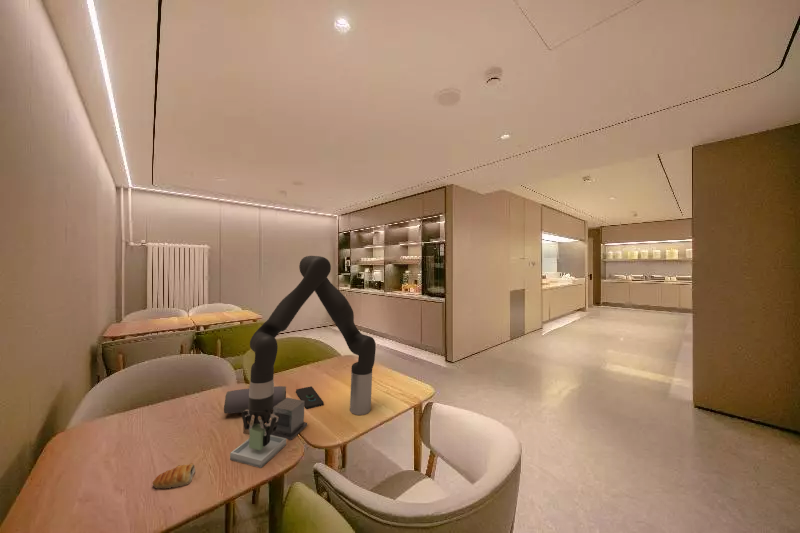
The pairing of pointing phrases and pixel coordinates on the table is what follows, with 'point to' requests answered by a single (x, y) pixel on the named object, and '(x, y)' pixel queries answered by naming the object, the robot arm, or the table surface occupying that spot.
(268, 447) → the tray
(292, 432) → the housing
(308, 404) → the smart home device
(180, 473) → the pastry
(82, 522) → the table surface
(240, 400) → the bluetooth speaker
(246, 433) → the walnut block
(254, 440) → the green block
